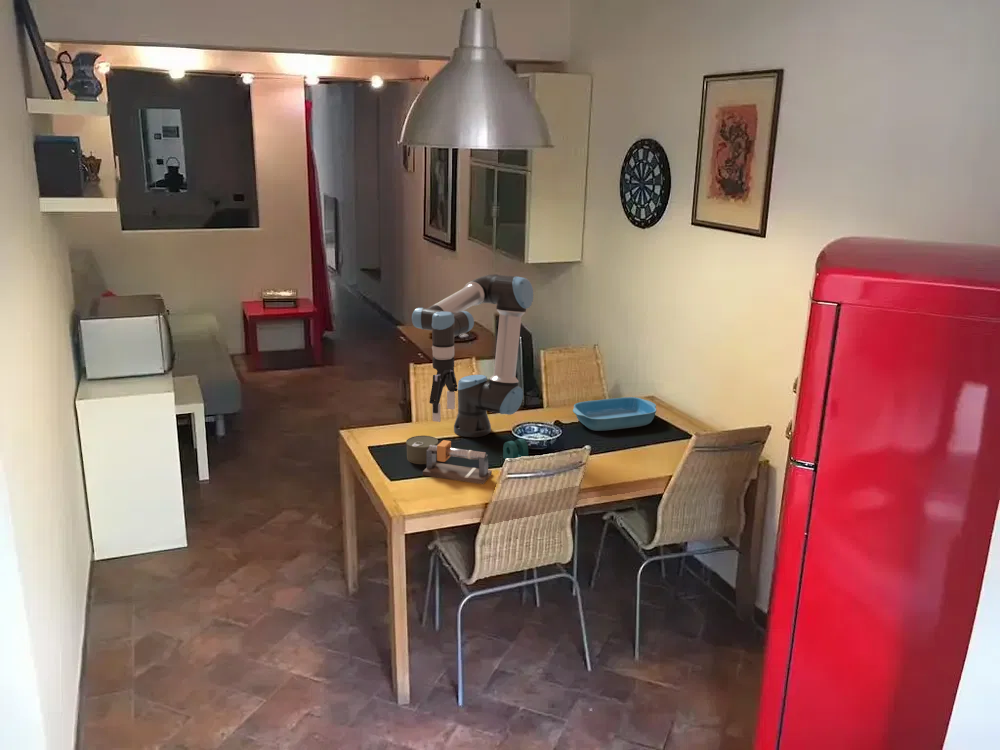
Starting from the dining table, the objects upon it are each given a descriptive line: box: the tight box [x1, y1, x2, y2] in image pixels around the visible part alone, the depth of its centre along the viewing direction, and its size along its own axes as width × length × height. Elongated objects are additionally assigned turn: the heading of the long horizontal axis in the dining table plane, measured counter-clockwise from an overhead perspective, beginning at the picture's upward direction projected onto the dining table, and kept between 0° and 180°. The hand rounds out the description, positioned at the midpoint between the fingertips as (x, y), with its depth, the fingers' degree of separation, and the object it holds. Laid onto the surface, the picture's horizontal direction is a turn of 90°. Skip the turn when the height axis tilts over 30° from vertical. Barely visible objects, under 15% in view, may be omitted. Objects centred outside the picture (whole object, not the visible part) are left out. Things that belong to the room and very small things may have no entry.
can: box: [405, 435, 439, 465], centre depth 311 cm, size 12×12×7 cm
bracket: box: [502, 438, 529, 460], centre depth 306 cm, size 18×7×8 cm, turn 33°
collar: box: [436, 439, 452, 463], centre depth 296 cm, size 6×3×6 cm, turn 162°
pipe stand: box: [422, 445, 493, 485], centre depth 296 cm, size 9×23×10 cm, turn 72°
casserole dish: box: [572, 396, 657, 432], centre depth 350 cm, size 37×22×7 cm, turn 108°
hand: (443, 414), depth 292 cm, fingers open, 13 cm apart
